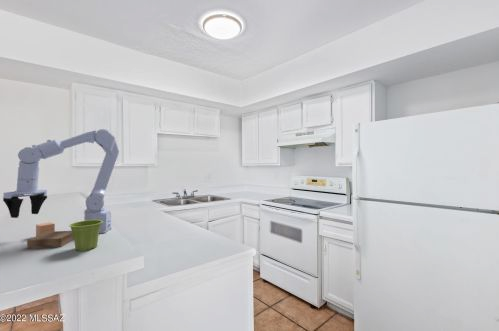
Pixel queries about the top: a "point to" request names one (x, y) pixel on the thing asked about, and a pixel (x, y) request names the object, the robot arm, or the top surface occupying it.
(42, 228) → the terracotta block
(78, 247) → the plant pot
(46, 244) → the walnut plinth
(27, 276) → the top surface
